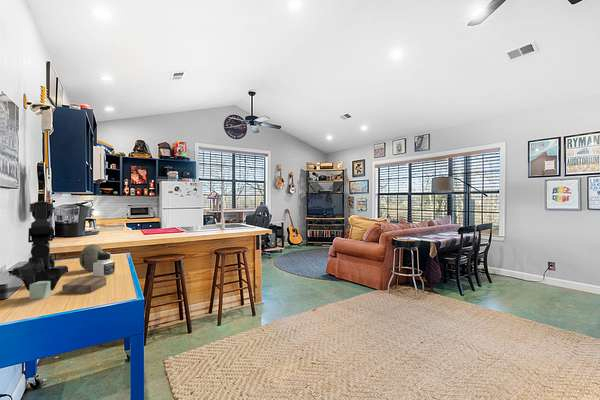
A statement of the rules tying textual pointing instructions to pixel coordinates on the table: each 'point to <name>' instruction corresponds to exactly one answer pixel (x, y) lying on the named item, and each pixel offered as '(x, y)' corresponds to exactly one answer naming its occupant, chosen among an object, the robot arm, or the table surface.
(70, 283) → the walnut block
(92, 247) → the decorative egg
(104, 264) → the medicine bottle
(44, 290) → the sage pill box
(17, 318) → the table surface
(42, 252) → the robot arm
